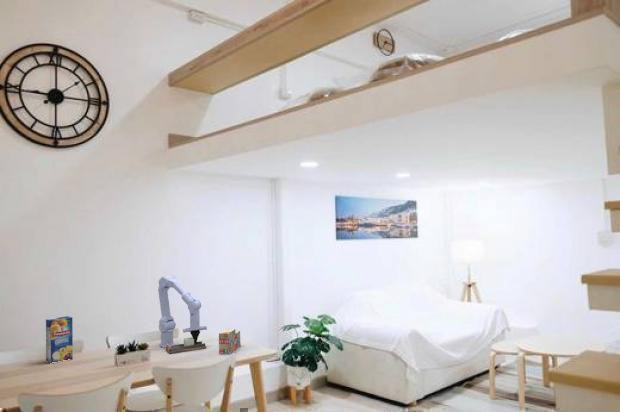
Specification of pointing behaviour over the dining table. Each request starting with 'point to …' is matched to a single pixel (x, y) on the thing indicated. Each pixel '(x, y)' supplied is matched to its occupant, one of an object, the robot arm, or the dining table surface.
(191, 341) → the sage block
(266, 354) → the dining table surface
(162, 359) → the dining table surface
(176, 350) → the chute
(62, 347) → the blue food box
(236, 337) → the stack of blocks
